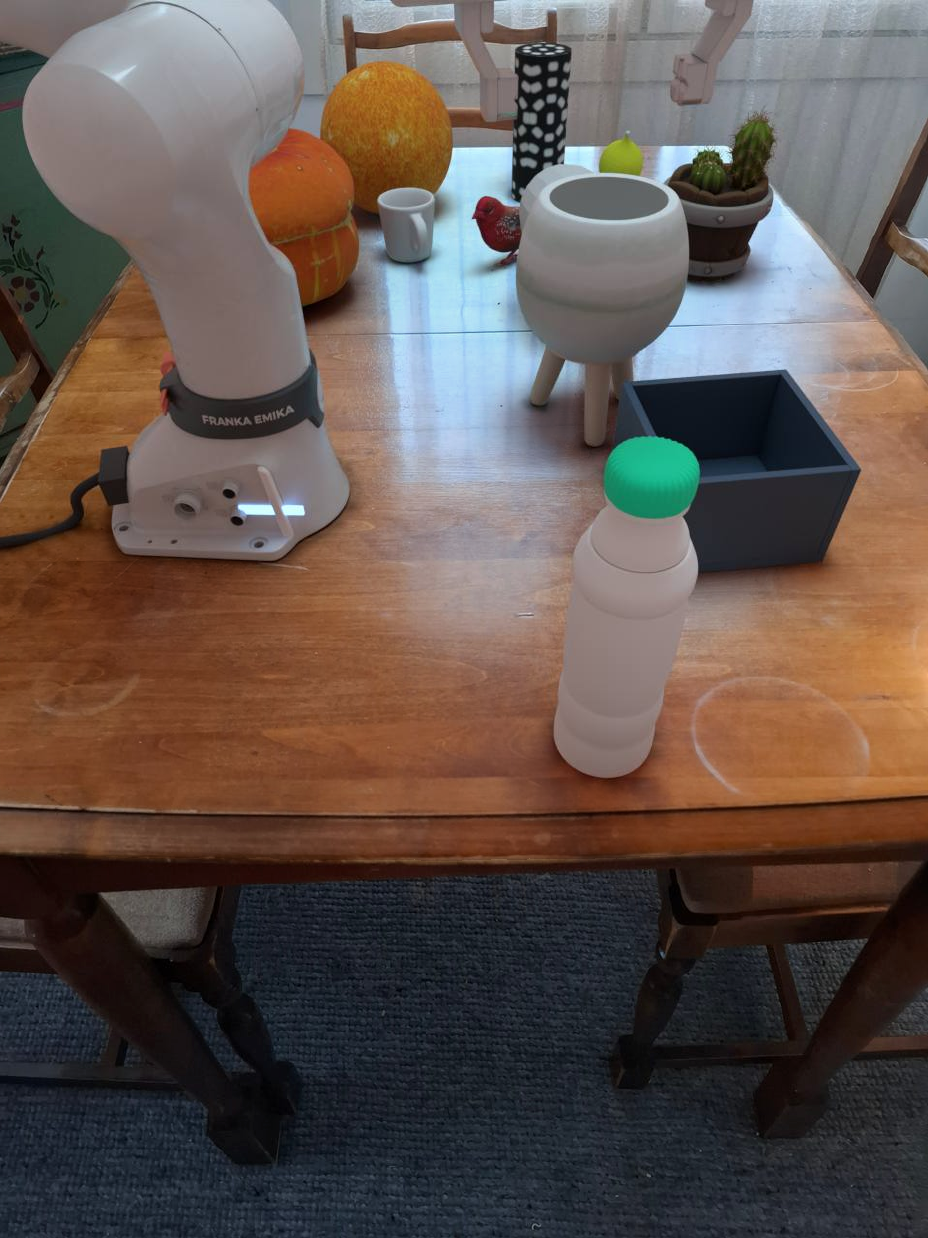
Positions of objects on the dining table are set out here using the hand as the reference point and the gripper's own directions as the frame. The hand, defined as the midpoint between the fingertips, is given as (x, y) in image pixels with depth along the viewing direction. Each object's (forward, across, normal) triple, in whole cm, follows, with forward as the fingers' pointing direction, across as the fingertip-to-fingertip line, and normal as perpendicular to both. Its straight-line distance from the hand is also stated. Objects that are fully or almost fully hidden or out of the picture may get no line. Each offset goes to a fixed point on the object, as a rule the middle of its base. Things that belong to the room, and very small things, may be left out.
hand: (595, 109), depth 38 cm
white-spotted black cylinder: (+37, -22, -95) cm, 104 cm away
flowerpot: (+38, -38, -63) cm, 82 cm away
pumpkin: (+37, +20, -67) cm, 79 cm away
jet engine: (+38, -15, -50) cm, 65 cm away
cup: (+37, +2, -74) cm, 83 cm away
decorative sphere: (+37, +3, -94) cm, 101 cm away
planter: (+38, -12, -31) cm, 50 cm away
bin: (+38, -18, -12) cm, 44 cm away
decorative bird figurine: (+37, -13, -72) cm, 82 cm away
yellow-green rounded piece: (+38, -36, -95) cm, 108 cm away
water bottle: (+38, -1, +11) cm, 39 cm away
